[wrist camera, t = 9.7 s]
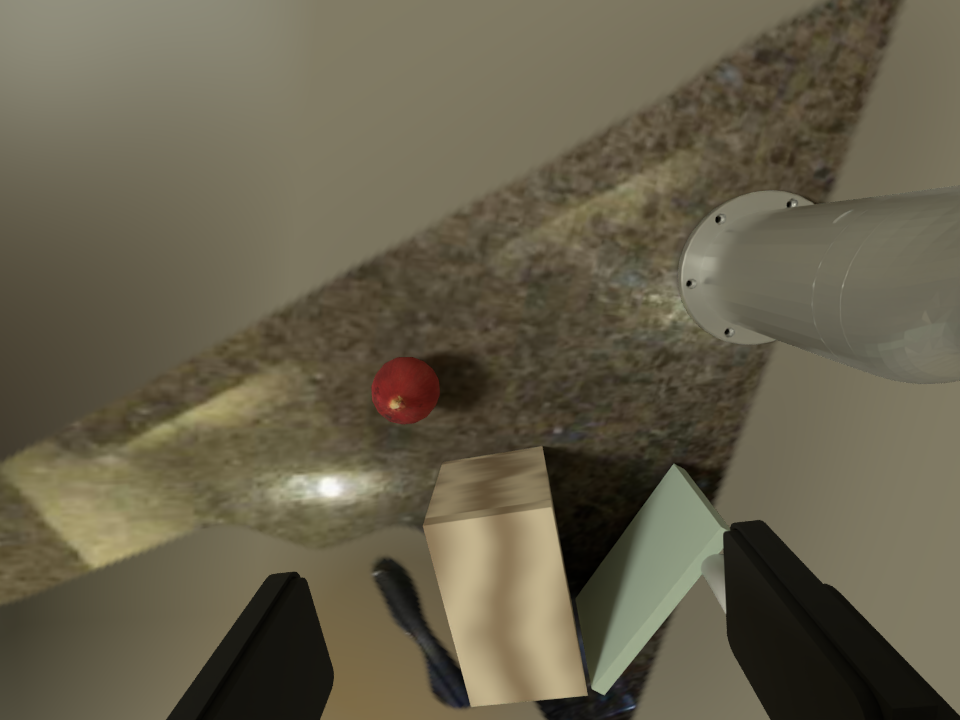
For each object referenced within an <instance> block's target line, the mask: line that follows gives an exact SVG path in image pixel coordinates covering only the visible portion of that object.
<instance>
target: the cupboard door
mask: <svg viewBox="0 0 960 720" xmlns="http://www.w3.org/2000/svg"><path fill="white" fill-rule="evenodd" d="M725 531H730V528H729V526H728V525H727V524H726V522H725V521H724V520H723V519H722V517H721V516H720V515H719V513H718V512H717V511H716V509H715V508H714V507H713V506H712V504H711V503H710V502H709V500H708V499H707V498H706V496H705V495H704V494H703V493H702V491H701V490H700V489H699V487H698V486H697V485H696V484H695V482H694V481H693V480H692V478H691V477H690V476H689V474H688V473H687V472H686V471H685V469H683V468H681V467H679V466H677V465H676V464H673V465H672V467H671V468H670V469H669V471H668V472H667V474H666V475H665V476H664V478H663V479H662V480H661V482H660V483H659V485H658V486H657V487H656V489H655V490H654V491H653V493H652V494H651V496H650V497H649V498H648V500H647V501H646V502H645V504H644V505H643V506H642V508H641V509H640V511H639V512H638V513H637V515H636V516H635V517H634V519H633V520H632V522H631V523H630V524H629V526H628V527H627V528H626V530H625V531H624V533H623V534H622V535H621V537H620V538H619V539H618V541H617V542H616V544H615V545H614V546H613V548H612V549H611V550H610V552H609V553H608V555H607V556H606V557H605V559H604V560H603V561H602V563H601V564H600V565H599V567H598V568H597V570H596V571H595V572H594V574H593V575H592V576H591V578H590V579H589V581H588V582H587V583H586V585H585V586H584V587H583V589H582V590H581V592H580V593H579V594H578V596H577V597H576V598H575V600H576V605H577V611H578V616H579V622H580V627H581V633H582V638H583V644H584V649H585V655H586V660H587V665H588V671H589V676H590V682H591V687H592V689H593V690H595V691H597V692H599V693H601V694H603V695H605V693H606V692H607V691H608V690H609V689H610V687H611V686H612V685H613V684H614V682H615V681H616V680H617V679H618V677H619V676H620V675H621V674H622V672H623V671H624V670H625V669H626V668H627V666H628V665H629V664H630V663H631V661H632V660H633V659H634V658H635V656H636V655H637V654H638V653H639V652H640V650H641V649H642V648H643V647H644V645H645V644H646V643H647V642H648V640H649V639H650V638H651V637H652V635H653V634H654V633H655V632H656V631H657V629H658V628H659V627H660V626H661V624H662V623H663V622H664V621H665V619H666V618H667V617H668V616H669V615H670V613H671V612H672V611H673V610H674V608H675V607H676V606H677V605H678V603H679V602H680V601H681V600H682V598H683V597H684V596H685V595H686V594H687V592H688V591H689V590H690V589H691V587H692V586H693V585H694V584H695V582H696V581H697V580H698V579H699V578H700V576H701V575H702V574H703V576H704V577H705V579H706V581H707V583H708V584H709V586H710V588H711V589H712V591H713V593H714V595H715V596H716V598H717V600H718V601H719V603H720V605H721V606H722V608H723V610H724V612H725V614H726V598H725V574H724V554H719V553H720V551H721V550H722V549H723V533H724V532H725Z"/></svg>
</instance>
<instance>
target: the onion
mask: <svg viewBox="0 0 960 720" xmlns="http://www.w3.org/2000/svg"><path fill="white" fill-rule="evenodd" d="M371 388H372V401H373V403H374V405H375V407H376V408H377V410H378V412H379V413H380V414H381V415H382V416H383V417H385V418H386V419H387V420H388V421H390V422H394V423H399V424H410V423H416V422H418V421H420V420H422V419H423V418H425V417H427V416H428V415H429V413H430V412H431V411H432V410H433V409H434V407H435V406H436V404H437V401H438V398H439V395H440V388H439V379H438V377H437V376H436V374H435V372H434V370H433V369H432V368H431V367H430V366H429V365H427V364H426V363H425V362H424V361H421V360H419V359H416V358H413V357H398V358H395V359H393V360H391V361H389V362H387V363H385V364H384V365H383V367H382V368H381V369H380V370H379V371H378V372H377V374H376V376H375V378H374V381H373V384H372V387H371Z"/></svg>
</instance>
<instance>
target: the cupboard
mask: <svg viewBox="0 0 960 720" xmlns="http://www.w3.org/2000/svg"><path fill="white" fill-rule="evenodd" d="M423 528H424V532H425V536H426V539H427V543H428V547H429V550H430V554H431V558H432V562H433V565H434V569H435V573H436V577H437V580H438V584H439V588H440V592H441V595H442V599H443V603H444V607H445V610H446V614H447V618H448V622H449V625H450V629H451V633H452V636H453V640H454V643H455V648H456V652H457V655H458V659H459V663H460V667H461V670H462V674H463V678H464V681H465V685H466V689H467V693H468V696H469V700H470V704H471V707H475V706H485V705H495V704H505V703H515V702H526V701H536V700H546V699H556V698H566V697H577V696H587V689H586V683H585V677H584V671H583V665H582V660H581V654H580V648H579V642H578V636H577V630H576V625H575V619H574V613H573V607H572V601H571V596H570V591H569V585H568V580H567V575H566V569H565V564H564V559H563V553H562V548H561V543H560V537H559V532H558V527H557V521H556V516H555V511H554V506H553V500H552V495H551V490H550V484H549V479H548V474H547V468H546V463H545V458H544V452H543V447H542V446H541V447H534V448H528V449H522V450H516V451H510V452H503V453H497V454H491V455H485V456H479V457H472V458H466V459H460V460H454V461H447V462H442V466H441V469H440V472H439V475H438V479H437V482H436V485H435V488H434V492H433V495H432V498H431V501H430V505H429V508H428V511H427V514H426V517H425V521H424V524H423Z"/></svg>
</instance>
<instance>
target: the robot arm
mask: <svg viewBox="0 0 960 720" xmlns="http://www.w3.org/2000/svg"><path fill="white" fill-rule="evenodd" d="M787 203H788V204H789V205H788V207H787V206H786V205H787ZM716 217H718V218H719V221H718V222H717V223H716V221H715V218H716ZM688 280H689V281H690V285H689V286H686V282H687V281H688ZM678 289H679V293H680V297H681V301H682V303H683V305H684V307H685V309H686V311H687V313H688V314H689V316H690V317H691V318H692V319H693V321H694V322H695V323H696V324H697V325H698V326H699V327H701V328H702V329H703V330H704V331H705V332H707V333H709V334H711V335H713V336H715V337H717V338H719V339H721V340H724V341H727V342H731V343H736V344H742V345H757V344H762V343H768V342H772V341H775V340H778V341H781V342H784V343H787V344H789V345H792V346H795V347H798V348H800V349H803V350H806V351H809V352H811V353H814V354H817V355H820V356H822V357H825V358H828V359H830V360H833V361H836V362H839V363H841V364H844V365H847V366H850V367H853V368H856V369H859V370H862V371H864V372H868V373H870V374H873V375H876V376H879V377H883V378H886V379H890V380H894V381H900V382H906V383H917V384H935V383H948V382H955V381H960V185H959V186H951V187H944V188H936V189H929V190H922V191H914V192H908V193H900V194H892V195H885V196H877V197H869V198H862V199H853V200H846V201H838V202H830V203H822V204H814V203H813V202H811V201H809V200H807V199H805V198H804V197H802V196H800V195H796V194H793V193H789V192H786V191H774V190H768V191H759V192H753V193H748V194H744V195H741V196H738V197H736V198H733V199H731V200H729V201H726V202H725V203H723V204H722V205H720V206H718V207H717V208H715V209H714V210H712V211H711V212H710V213H709V214H708V215H707V216H706V217H705V218H704V219H702V220H701V222H700V223H699V224H698V225H697V227H696V228H695V229H694V230H693V232H692V233H691V235H690V237H689V239H688V240H687V242H686V244H685V246H684V249H683V252H682V255H681V258H680V261H679V268H678ZM726 329H727V332H726V333H724V332H725V330H726ZM723 550H724V574H725V598H726V621H727V636H728V641H729V644H730V647H731V649H732V652H733V654H734V656H735V658H736V659H737V661H738V663H739V665H740V666H741V668H742V670H743V672H744V674H745V675H746V677H747V679H748V680H749V682H750V684H751V686H752V687H753V689H754V691H755V693H756V695H757V697H758V698H759V700H760V702H761V704H762V705H763V707H764V709H765V711H766V712H767V714H768V716H769V718H770V719H771V720H960V716H959V715H958V714H957V713H956V712H955V711H954V709H952V707H950V705H949V704H948V703H947V702H946V701H945V700H944V699H943V698H942V697H941V696H940V695H939V694H938V693H937V692H936V691H935V690H934V689H933V688H932V687H931V686H930V685H929V684H928V683H927V682H926V681H925V680H924V679H923V678H922V677H921V676H920V675H919V674H918V672H916V670H914V668H913V667H912V666H911V665H909V663H908V662H907V661H906V660H905V659H904V658H903V657H902V656H901V655H900V654H899V653H898V652H897V651H896V650H895V649H894V648H893V647H892V646H891V645H890V644H889V643H888V642H887V641H886V640H885V639H884V638H883V636H882V635H881V634H880V633H879V632H878V631H877V630H876V629H875V628H874V627H873V626H872V625H871V624H870V623H869V622H868V621H867V620H866V619H865V618H864V617H863V616H862V615H861V614H860V613H859V612H858V611H857V610H856V609H855V608H854V607H853V606H852V605H851V604H850V602H849V601H848V600H847V599H846V598H845V597H844V596H843V595H842V594H841V593H840V592H839V591H837V590H836V589H835V588H834V587H833V586H830V585H828V584H823V583H822V582H821V581H820V580H819V579H818V578H817V577H816V576H815V575H814V574H813V573H812V572H811V571H810V570H809V569H808V568H807V567H806V566H805V564H804V563H802V561H801V560H800V559H799V558H798V557H797V556H796V555H795V554H794V553H793V552H792V551H791V550H790V549H789V548H788V547H787V545H786V544H784V542H783V541H782V540H781V539H780V538H779V537H778V536H777V535H776V534H775V533H774V532H773V531H772V530H771V529H770V528H769V526H768V525H767V524H766V523H764V522H763V521H761V520H755V521H746V522H737V523H733V524H731V527H730V531H725V532H724V533H723ZM333 680H334V671H333V667H332V663H331V660H330V657H329V653H328V650H327V646H326V643H325V640H324V637H323V633H322V630H321V626H320V623H319V620H318V616H317V613H316V609H315V606H314V603H313V599H312V596H311V593H310V589H309V586H308V583H307V580H306V579H305V578H301V577H300V575H299V574H298V573H297V572H286V573H277V574H272V575H269V576H268V577H267V578H266V580H265V581H264V582H263V584H262V585H261V587H260V588H259V589H258V591H257V592H256V594H255V595H254V597H253V598H252V600H251V601H250V602H249V604H248V605H247V606H246V608H245V609H244V611H243V612H242V613H241V615H240V616H239V618H238V619H237V620H236V622H235V623H234V625H233V626H232V628H231V629H230V630H229V632H228V633H227V635H226V636H225V637H224V639H223V640H222V642H221V643H220V645H219V646H218V647H217V649H216V650H215V651H214V653H213V654H212V656H211V657H210V659H209V660H208V661H207V663H206V664H205V666H204V667H203V668H202V670H201V671H200V673H199V674H198V675H197V677H196V678H195V680H194V681H193V682H192V684H191V685H190V687H189V688H188V690H187V691H186V692H185V694H184V695H183V697H182V698H181V699H180V701H179V702H178V704H177V705H176V707H175V708H174V709H173V711H172V712H171V714H170V715H169V716H168V718H167V719H166V720H320V718H321V716H322V713H323V710H324V708H325V705H326V703H327V700H328V697H329V695H330V692H331V690H332V686H333Z"/></svg>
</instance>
